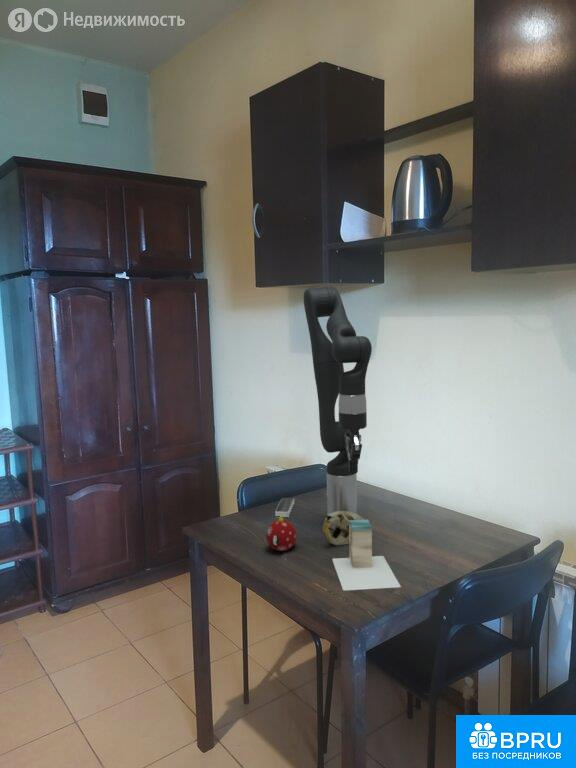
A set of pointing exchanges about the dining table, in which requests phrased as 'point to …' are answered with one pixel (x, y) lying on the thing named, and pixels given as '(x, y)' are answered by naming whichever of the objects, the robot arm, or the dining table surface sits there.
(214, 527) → the dining table surface
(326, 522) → the skull
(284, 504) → the multiport hub
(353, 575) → the mat
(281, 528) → the christmas ornament
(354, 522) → the tall block
